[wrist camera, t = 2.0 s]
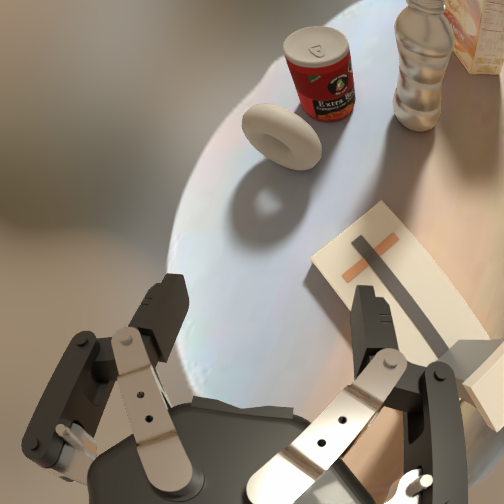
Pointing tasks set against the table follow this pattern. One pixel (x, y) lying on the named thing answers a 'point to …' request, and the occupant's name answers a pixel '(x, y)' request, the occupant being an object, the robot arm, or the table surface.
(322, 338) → the table surface
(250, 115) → the donut
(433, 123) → the plastic bottle
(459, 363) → the slider knob
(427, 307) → the fader deck
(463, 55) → the coffeecake box
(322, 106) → the canned food
